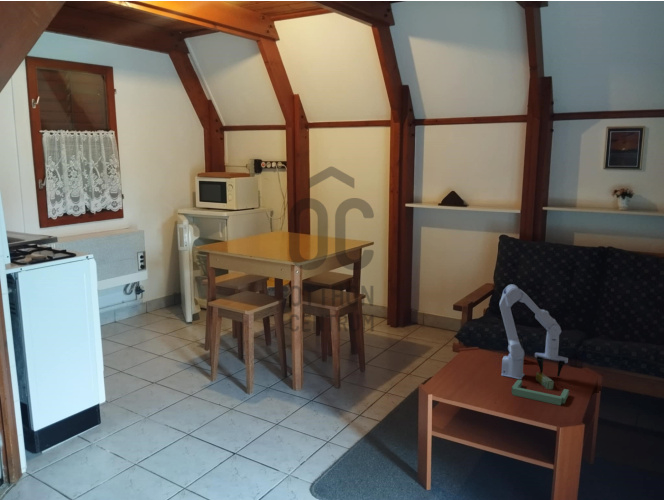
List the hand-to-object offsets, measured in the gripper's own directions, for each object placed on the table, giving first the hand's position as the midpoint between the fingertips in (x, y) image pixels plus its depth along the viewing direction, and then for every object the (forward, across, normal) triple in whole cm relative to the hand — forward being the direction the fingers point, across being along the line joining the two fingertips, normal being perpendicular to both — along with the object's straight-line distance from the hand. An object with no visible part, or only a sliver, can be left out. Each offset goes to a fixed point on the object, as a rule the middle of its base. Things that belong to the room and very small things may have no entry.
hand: (549, 374), depth 263 cm
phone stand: (+2, +20, -16) cm, 26 cm away
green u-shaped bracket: (+2, 0, +24) cm, 24 cm away
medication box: (+2, +1, +10) cm, 10 cm away
